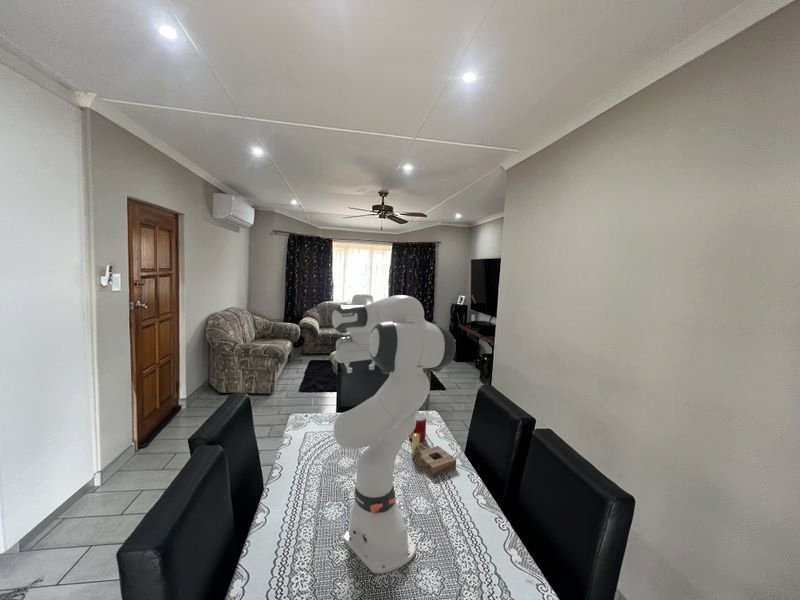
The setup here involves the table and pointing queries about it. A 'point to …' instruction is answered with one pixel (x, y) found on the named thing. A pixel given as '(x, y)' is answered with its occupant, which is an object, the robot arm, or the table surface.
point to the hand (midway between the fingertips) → (360, 371)
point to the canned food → (419, 427)
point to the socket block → (435, 461)
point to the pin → (415, 444)
